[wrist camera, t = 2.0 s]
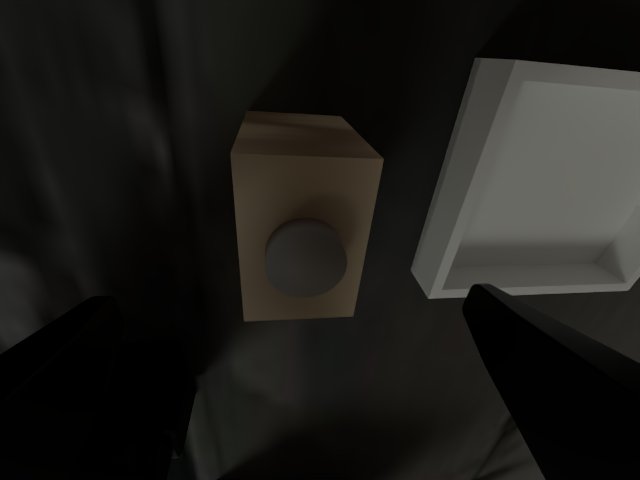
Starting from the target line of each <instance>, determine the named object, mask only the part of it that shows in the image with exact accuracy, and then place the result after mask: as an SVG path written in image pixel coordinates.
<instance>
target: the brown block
mask: <svg viewBox="0 0 640 480" xmlns="http://www.w3.org/2000/svg"><path fill="white" fill-rule="evenodd" d="M230 155H231V167H232V179H233V192H234V204H235V217H236V229H237V241H238V254H239V266H240V278H241V291H242V303H243V315H244V322H246V321H267V320H287V319H308V318H329V317H350V316H353V314H354V309H355V304H356V299H357V294H358V289H359V284H360V279H361V273H362V268H363V263H364V258H365V253H366V248H367V243H368V238H369V232H370V227H371V222H372V217H373V212H374V207H375V202H376V197H377V191H378V186H379V181H380V176H381V171H382V166H383V161H384V159H383V158H382V157H381V156H380V155H379V154H378V153H377V152H376V151H375V150H374V149H373V148H372V147H371V146H370V145H369V144H368V143H367V142H366V141H365V140H364V139H363V138H362V137H361V136H360V135H359V134H358V133H357V132H356V131H355V130H354V129H353V128H352V127H351V126H350V125H349V124H348V123H347V122H346V121H345V120H344V119H343V118H342V117H341V116H328V115H311V114H294V113H277V112H261V111H246V114H245V117H244V119H243V122H242V124H241V127H240V130H239V132H238V135H237V137H236V140H235V143H234V145H233V148H232V150H231V153H230Z"/></svg>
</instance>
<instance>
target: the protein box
mask: <svg viewBox="0 0 640 480" xmlns="http://www.w3.org/2000/svg"><path fill="white" fill-rule="evenodd" d="M220 480H222V479H220ZM224 480H226V479H224ZM228 480H229V479H228ZM231 480H238V479H231ZM242 480H348V479H242Z"/></svg>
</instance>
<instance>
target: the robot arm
mask: <svg viewBox="0 0 640 480" xmlns="http://www.w3.org/2000/svg"><path fill="white" fill-rule="evenodd" d="M462 311H463V315H464V317H465V320H466V322H467V324H468V327H469V329H470V332H471V334H472V336H473V339H474V341H475V344H476V346H477V348H478V351H479V353H480V356H481V358H482V360H483V362H484V364H485V367H486V369H487V370H488V372H489V374H490V376H491V378H492V380H493V382H494V384H495V386H496V388H497V389H498V391H499V393H500V395H501V397H502V399H503V401H504V403H505V404H506V406H507V408H508V410H509V412H510V414H511V416H512V417H513V419H514V421H515V423H516V425H517V427H518V429H519V431H520V432H521V434H522V436H523V438H524V440H525V442H526V444H527V446H528V447H529V449H530V451H531V453H532V455H533V457H534V459H535V461H536V462H537V464H538V466H539V468H540V470H541V472H542V474H543V476H544V477H545V479H546V480H640V363H638V362H636V361H634V360H632V359H630V358H629V357H627V356H625V355H623V354H621V353H619V352H617V351H615V350H613V349H612V348H610V347H608V346H606V345H604V344H602V343H600V342H598V341H597V340H595V339H593V338H591V337H589V336H587V335H585V334H583V333H581V332H580V331H578V330H576V329H574V328H572V327H570V326H568V325H566V324H565V323H563V322H561V321H559V320H557V319H555V318H553V317H551V316H550V315H548V314H546V313H544V312H542V311H540V310H538V309H536V308H534V307H533V306H531V305H529V304H527V303H525V302H523V301H521V300H519V299H518V298H516V297H514V296H512V295H510V294H508V293H506V292H504V291H502V290H501V289H499V288H497V287H495V286H493V285H491V284H488V283H479V284H474V285H472V286H471V288H470V290H469V292H468V294H467V297H466V299H465V301H464V303H463V307H462ZM123 331H124V320H123V317H122V314H121V312H120V309H119V307H118V304H117V301H116V299H115V298H114V297H112V296H94V297H91V298H89V299H87V300H85V301H84V302H82V303H81V304H79V305H78V306H76V307H74V308H73V309H71V310H70V311H68V312H67V313H65V314H63V315H62V316H60V317H59V318H57V319H56V320H54V321H52V322H51V323H49V324H48V325H46V326H45V327H43V328H41V329H40V330H38V331H37V332H35V333H34V334H32V335H30V336H29V337H27V338H26V339H24V340H23V341H21V342H19V343H18V344H16V345H15V346H13V347H12V348H10V349H8V350H7V351H5V352H4V353H2V354H0V480H167V476H168V472H169V467H170V463H171V459H172V458H178V457H179V456H180V455H181V454H182V453H183V449H184V444H185V439H186V435H187V430H188V426H189V421H190V417H191V412H192V407H193V403H194V398H195V394H196V389H195V385H194V381H193V377H192V373H191V370H190V369H189V368H187V367H186V363H185V359H184V356H183V352H182V348H181V346H180V345H179V344H177V343H155V344H137V345H120V342H121V338H122V335H123ZM119 345H120V346H119Z"/></svg>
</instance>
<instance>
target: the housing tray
mask: <svg viewBox="0 0 640 480" xmlns="http://www.w3.org/2000/svg"><path fill="white" fill-rule="evenodd" d="M411 272H412V273H413V275H414V276H415V278H416V280H417V281H418V283H419V284H420V286H421V288H422V289H423V291H424V292H425V294H426V296H427V297H428V299H431V298H456V297H467V294H468V292H469V290H470V288H471V286H472V285H474V284H479V283H488V284H491V285H493V286H495V287H497V288H499V289H501V290H502V291H504V292H506V293H508V294H510V295H531V294H556V293H581V292H606V291H628V290H629V289H630V288H631V286H632V285H633V284H634V283H635V282H636V280H637V279H638V278H639V277H640V72H633V71H623V70H613V69H603V68H593V67H583V66H573V65H563V64H553V63H543V62H533V61H523V60H510V59H490V58H475V60H474V63H473V66H472V69H471V73H470V76H469V79H468V83H467V86H466V89H465V93H464V96H463V99H462V102H461V106H460V109H459V112H458V116H457V119H456V122H455V125H454V129H453V132H452V135H451V139H450V142H449V145H448V149H447V152H446V155H445V158H444V162H443V165H442V168H441V172H440V175H439V178H438V181H437V185H436V188H435V191H434V195H433V198H432V201H431V205H430V208H429V211H428V214H427V218H426V221H425V224H424V228H423V231H422V234H421V238H420V241H419V244H418V247H417V251H416V254H415V257H414V261H413V264H412V267H411Z"/></svg>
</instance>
